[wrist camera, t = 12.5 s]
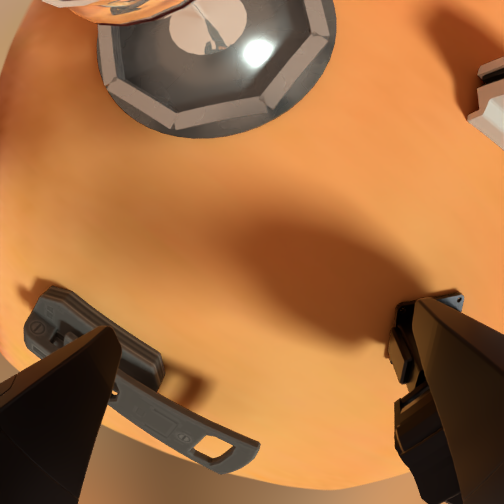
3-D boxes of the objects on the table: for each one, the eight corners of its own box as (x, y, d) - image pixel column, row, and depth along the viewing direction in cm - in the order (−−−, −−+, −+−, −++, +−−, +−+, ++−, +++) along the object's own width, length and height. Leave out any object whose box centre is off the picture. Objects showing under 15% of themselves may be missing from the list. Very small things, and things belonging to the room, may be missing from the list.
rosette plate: (305, -72, 11) (307, -86, 9) (353, 120, 17) (361, 120, 15) (97, -20, 13) (84, -28, 12) (119, 161, 20) (105, 165, 18)
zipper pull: (225, 479, 25) (11, 366, 22) (233, 432, 31) (42, 330, 28) (270, 450, 21) (4, 308, 18) (274, 394, 27) (47, 272, 24)
